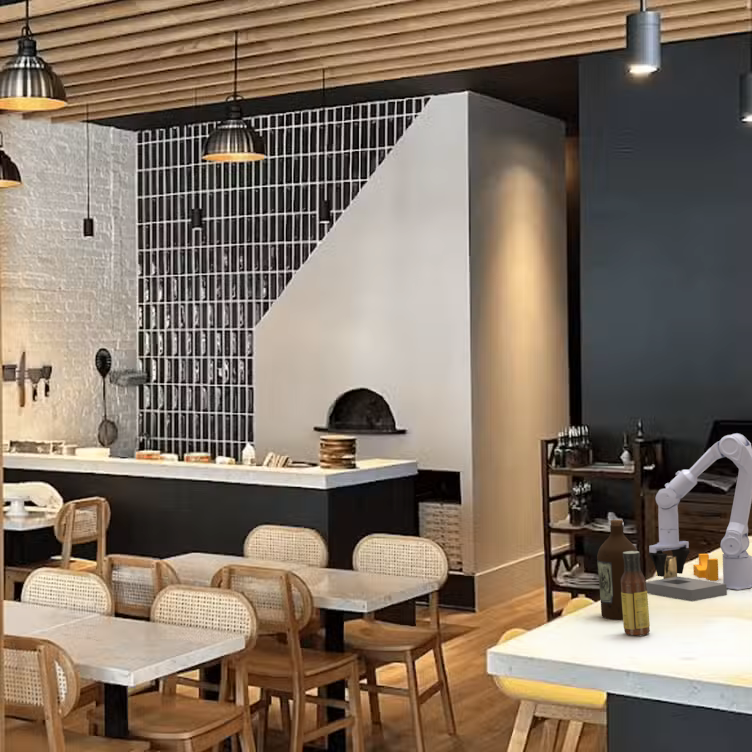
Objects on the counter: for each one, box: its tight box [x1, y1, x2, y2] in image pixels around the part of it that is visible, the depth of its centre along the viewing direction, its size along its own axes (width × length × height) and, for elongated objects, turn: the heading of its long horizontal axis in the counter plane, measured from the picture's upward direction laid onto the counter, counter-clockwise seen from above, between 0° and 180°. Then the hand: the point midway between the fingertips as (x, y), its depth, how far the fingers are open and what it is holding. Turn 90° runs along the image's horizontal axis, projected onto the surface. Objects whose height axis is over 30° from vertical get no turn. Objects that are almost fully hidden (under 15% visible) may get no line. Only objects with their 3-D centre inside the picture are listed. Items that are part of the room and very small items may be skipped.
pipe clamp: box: [692, 553, 720, 582], centre depth 378 cm, size 12×4×6 cm, turn 0°
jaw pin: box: [662, 555, 678, 579], centre depth 369 cm, size 4×4×8 cm
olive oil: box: [596, 519, 638, 621], centre depth 324 cm, size 11×11×25 cm
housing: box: [646, 576, 728, 602], centre depth 353 cm, size 14×18×3 cm
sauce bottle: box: [621, 550, 651, 637], centre depth 302 cm, size 7×6×20 cm
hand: (670, 574), depth 369 cm, fingers open, 7 cm apart
